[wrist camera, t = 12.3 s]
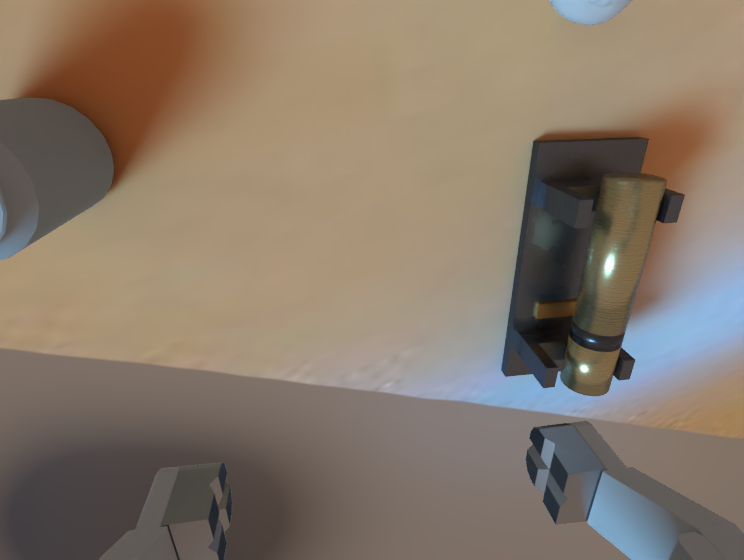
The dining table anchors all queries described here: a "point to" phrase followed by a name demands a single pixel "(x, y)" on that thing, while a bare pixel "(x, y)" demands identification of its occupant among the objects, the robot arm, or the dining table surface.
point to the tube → (610, 278)
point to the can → (47, 169)
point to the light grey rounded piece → (589, 10)
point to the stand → (563, 248)
